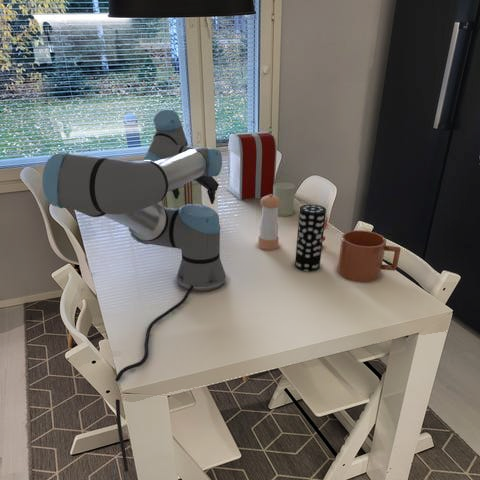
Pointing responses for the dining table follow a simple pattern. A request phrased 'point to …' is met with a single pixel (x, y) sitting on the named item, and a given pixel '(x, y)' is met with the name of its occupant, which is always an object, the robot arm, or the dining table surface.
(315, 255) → the white-spotted black cylinder
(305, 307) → the dining table surface
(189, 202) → the gift box
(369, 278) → the terracotta coffee mug
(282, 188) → the can
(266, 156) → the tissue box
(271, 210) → the pepper shaker
